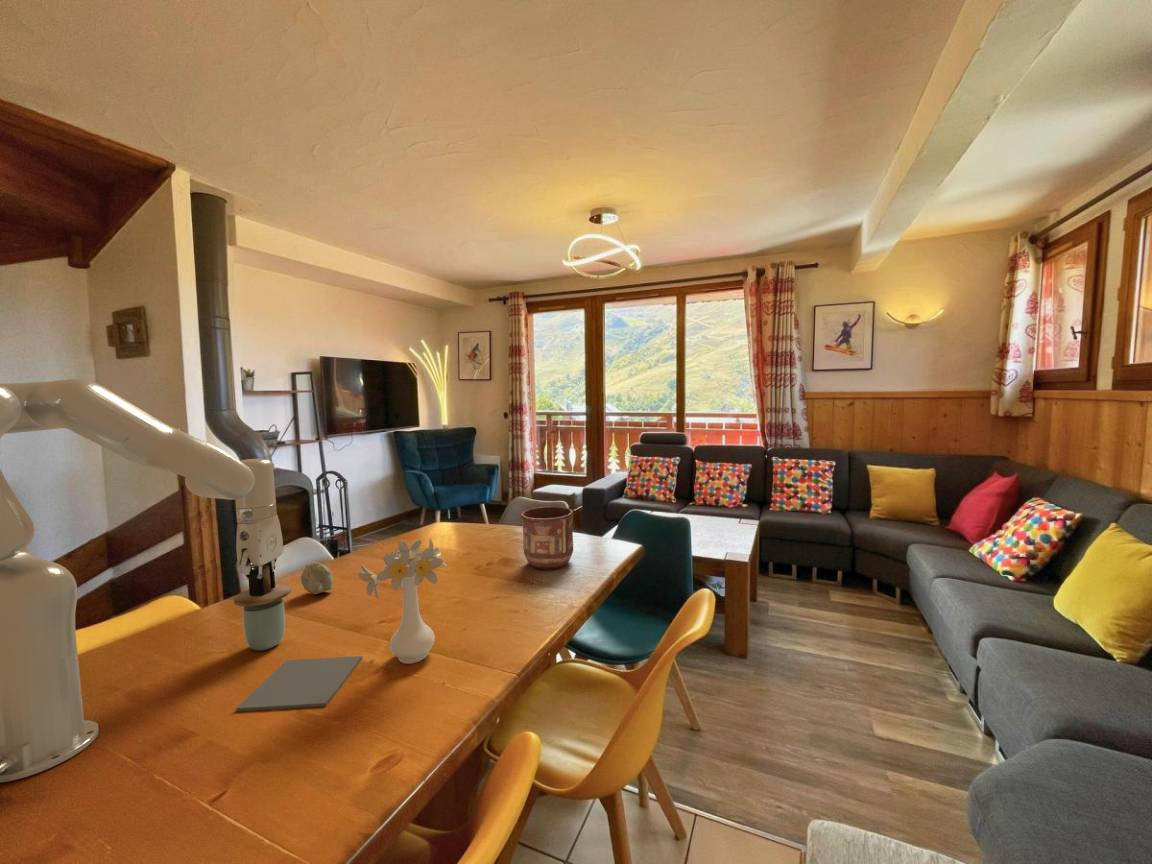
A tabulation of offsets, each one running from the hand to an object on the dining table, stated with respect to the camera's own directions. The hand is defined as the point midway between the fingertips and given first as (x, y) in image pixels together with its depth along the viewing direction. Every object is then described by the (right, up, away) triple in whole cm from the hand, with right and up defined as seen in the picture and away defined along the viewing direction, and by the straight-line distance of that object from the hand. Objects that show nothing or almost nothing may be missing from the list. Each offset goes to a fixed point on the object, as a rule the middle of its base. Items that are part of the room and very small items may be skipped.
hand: (262, 591), depth 107 cm
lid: (0, -1, 0) cm, 1 cm away
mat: (+18, -13, -14) cm, 27 cm away
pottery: (+63, -8, +51) cm, 81 cm away
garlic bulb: (-4, -12, +31) cm, 33 cm away
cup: (0, -13, +1) cm, 13 cm away
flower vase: (+37, -13, -7) cm, 39 cm away
